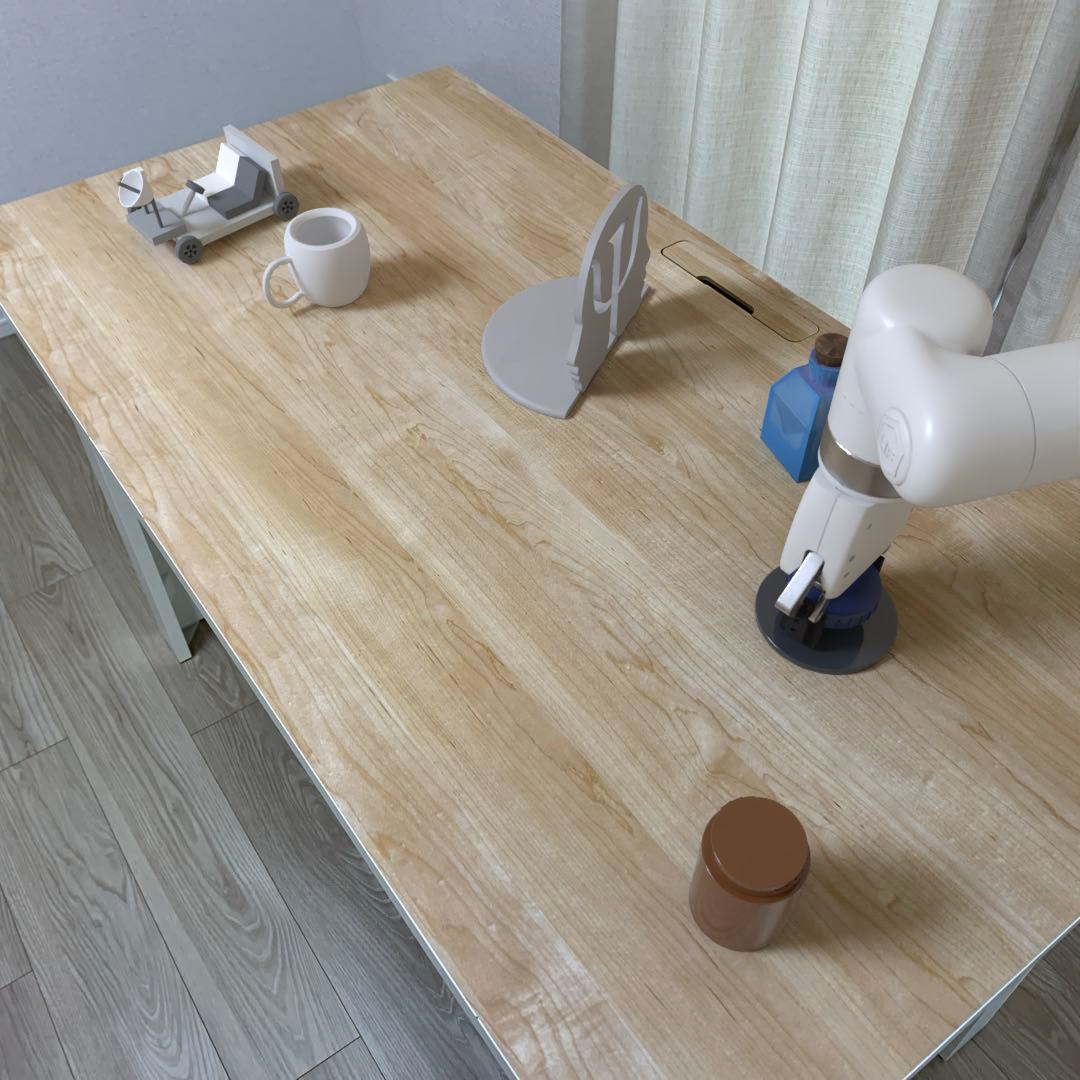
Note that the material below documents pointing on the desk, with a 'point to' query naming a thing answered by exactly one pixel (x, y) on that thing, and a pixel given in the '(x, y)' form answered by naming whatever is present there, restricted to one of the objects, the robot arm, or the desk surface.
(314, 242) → the mug
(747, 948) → the jar
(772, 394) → the perfume bottle
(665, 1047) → the desk surface
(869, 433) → the robot arm
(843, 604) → the lid
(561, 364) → the ornament
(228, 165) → the toy car
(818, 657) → the coaster
